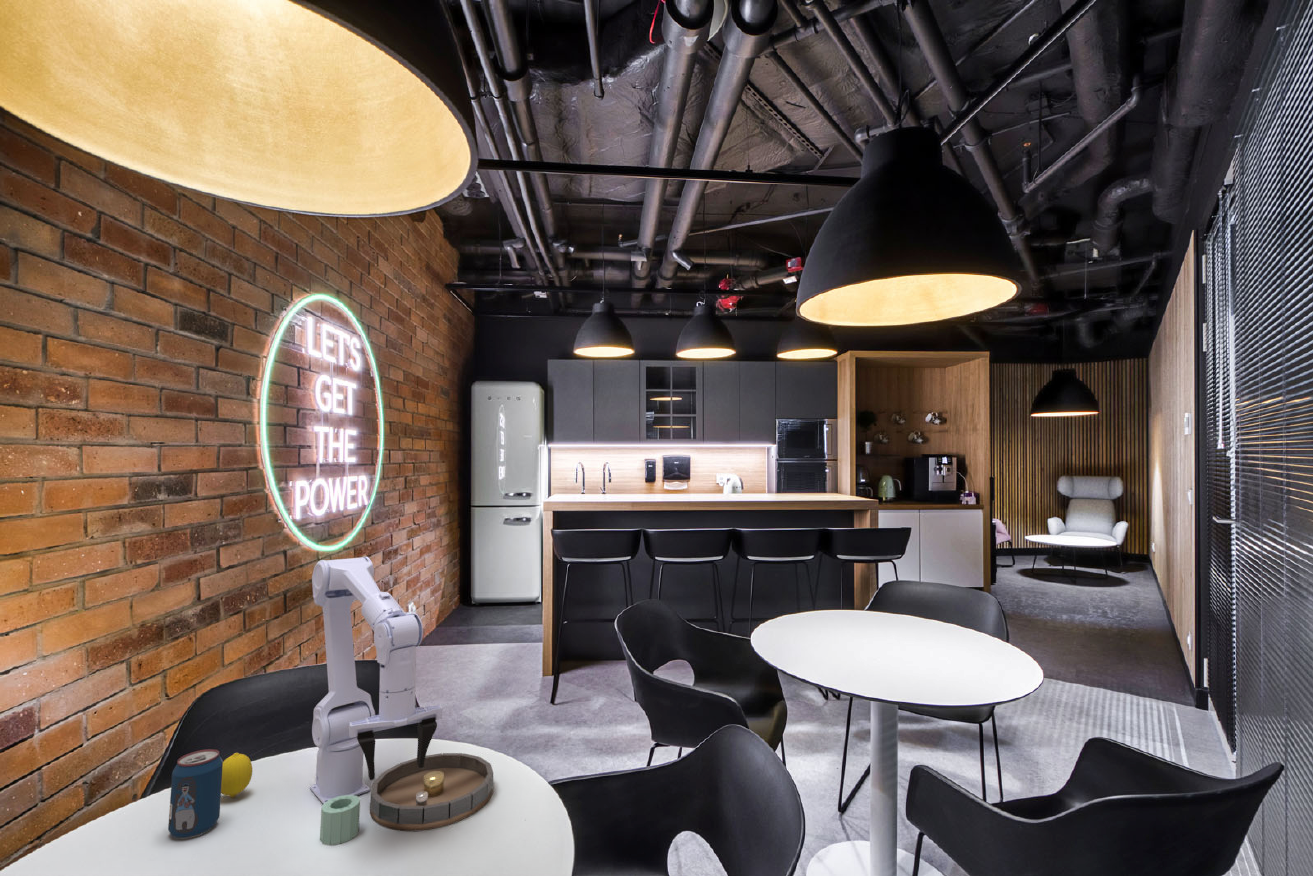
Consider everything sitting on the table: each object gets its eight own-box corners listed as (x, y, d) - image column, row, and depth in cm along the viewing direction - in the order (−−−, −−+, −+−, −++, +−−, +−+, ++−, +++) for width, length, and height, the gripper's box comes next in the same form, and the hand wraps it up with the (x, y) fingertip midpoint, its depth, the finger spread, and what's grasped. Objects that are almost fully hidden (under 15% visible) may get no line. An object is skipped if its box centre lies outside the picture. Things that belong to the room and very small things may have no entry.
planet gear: (315, 834, 100) (317, 803, 101) (351, 821, 104) (352, 791, 105) (326, 849, 96) (328, 816, 97) (363, 834, 100) (364, 803, 101)
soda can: (215, 814, 106) (219, 744, 107) (222, 830, 101) (227, 756, 102) (165, 829, 101) (170, 756, 102) (170, 847, 96) (175, 770, 97)
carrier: (351, 797, 112) (352, 775, 112) (459, 760, 127) (459, 741, 128) (398, 846, 97) (399, 820, 97) (514, 798, 112) (514, 775, 113)
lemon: (208, 801, 110) (211, 756, 111) (238, 787, 116) (241, 744, 116) (227, 807, 108) (230, 762, 109) (257, 793, 113) (260, 749, 114)
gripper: (353, 702, 95) (351, 792, 94) (446, 685, 103) (446, 768, 101) (348, 692, 101) (346, 776, 100) (437, 676, 109) (436, 755, 107)
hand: (396, 771), depth 101 cm, fingers open, 7 cm apart
